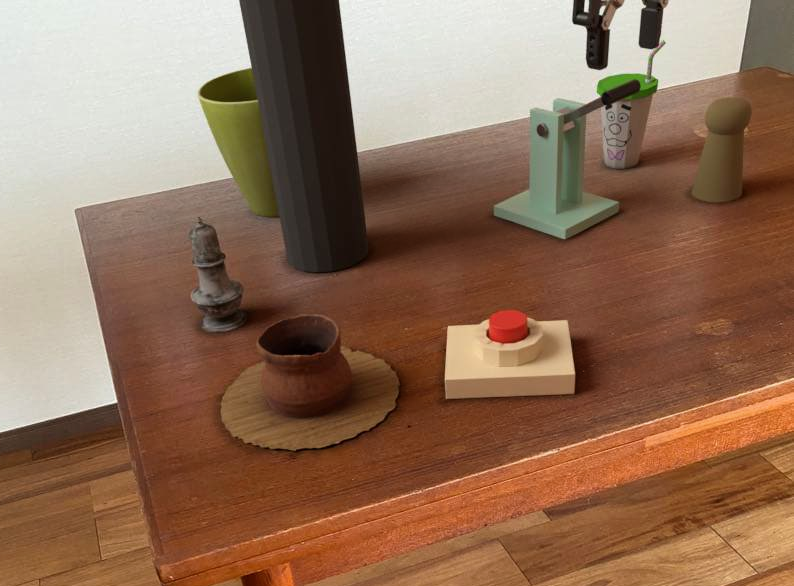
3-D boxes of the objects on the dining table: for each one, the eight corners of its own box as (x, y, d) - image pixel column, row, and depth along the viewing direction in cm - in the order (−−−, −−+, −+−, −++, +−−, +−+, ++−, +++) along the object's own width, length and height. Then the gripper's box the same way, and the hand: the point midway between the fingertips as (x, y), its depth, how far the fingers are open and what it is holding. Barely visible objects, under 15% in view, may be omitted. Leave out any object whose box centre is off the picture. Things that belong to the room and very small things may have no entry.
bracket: (618, 212, 111) (627, 103, 102) (565, 240, 106) (569, 128, 98) (546, 190, 118) (548, 86, 109) (493, 215, 114) (491, 110, 105)
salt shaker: (251, 328, 98) (227, 223, 90) (198, 337, 98) (169, 232, 90) (248, 304, 102) (225, 201, 94) (198, 312, 102) (170, 210, 94)
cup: (582, 169, 122) (588, 49, 112) (607, 149, 126) (614, 32, 116) (636, 176, 118) (647, 53, 108) (659, 156, 123) (672, 35, 113)
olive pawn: (733, 205, 109) (748, 110, 102) (684, 198, 112) (696, 106, 104) (748, 186, 112) (764, 94, 105) (701, 180, 115) (713, 90, 108)
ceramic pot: (383, 454, 79) (374, 387, 74) (195, 450, 82) (175, 386, 77) (412, 348, 91) (406, 285, 87) (249, 348, 95) (234, 287, 90)
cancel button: (526, 325, 86) (526, 308, 84) (528, 344, 83) (528, 327, 82) (489, 327, 86) (488, 310, 85) (489, 346, 83) (488, 329, 82)
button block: (566, 339, 90) (568, 303, 87) (574, 394, 83) (576, 356, 80) (448, 344, 91) (446, 309, 89) (446, 399, 84) (443, 362, 81)
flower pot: (292, 236, 115) (268, 105, 104) (203, 222, 122) (173, 98, 111) (351, 191, 124) (335, 67, 113) (266, 181, 131) (243, 62, 120)
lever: (643, 94, 97) (637, 72, 96) (614, 107, 95) (607, 84, 94) (567, 130, 107) (560, 110, 107) (539, 143, 105) (532, 122, 105)
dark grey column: (316, 232, 115) (274, -38, 95) (383, 242, 111) (353, -38, 91) (271, 266, 109) (215, -15, 89) (340, 278, 105) (297, -14, 85)
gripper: (621, -118, 78) (608, 82, 89) (717, -144, 84) (694, 45, 95) (556, -120, 82) (551, 70, 93) (652, -145, 88) (637, 36, 99)
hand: (623, 57), depth 94 cm, fingers open, 8 cm apart
